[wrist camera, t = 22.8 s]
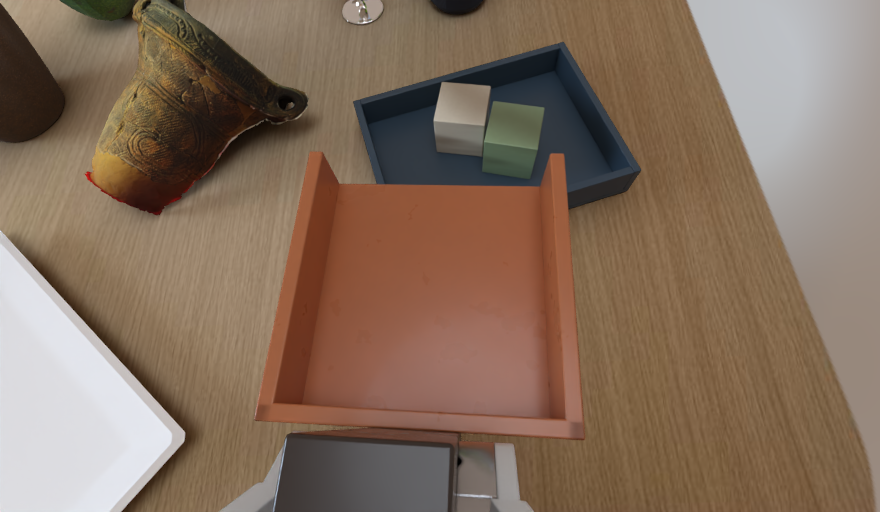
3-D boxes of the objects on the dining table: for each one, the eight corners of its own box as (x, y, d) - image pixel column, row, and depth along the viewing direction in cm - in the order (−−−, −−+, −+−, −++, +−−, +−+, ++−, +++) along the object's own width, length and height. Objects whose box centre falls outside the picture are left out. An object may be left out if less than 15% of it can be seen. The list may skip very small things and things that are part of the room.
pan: (566, 495, 15) (726, 612, 6) (280, 475, 16) (25, 550, 7) (550, 192, 20) (622, -5, 11) (331, 189, 21) (224, 3, 12)
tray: (556, 68, 38) (563, 41, 36) (627, 191, 33) (642, 169, 30) (361, 124, 37) (352, 101, 35) (401, 261, 32) (395, 245, 29)
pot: (-44, 109, 29) (96, -109, 28) (91, 143, 40) (194, -11, 39) (164, 252, 29) (305, 45, 29) (238, 245, 41) (341, 97, 40)
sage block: (544, 107, 31) (536, 140, 35) (493, 100, 32) (490, 134, 35) (537, 149, 30) (529, 179, 33) (483, 141, 30) (482, 172, 34)
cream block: (491, 85, 32) (488, 120, 36) (441, 81, 33) (444, 115, 36) (484, 125, 31) (482, 157, 35) (433, 120, 31) (436, 152, 35)
